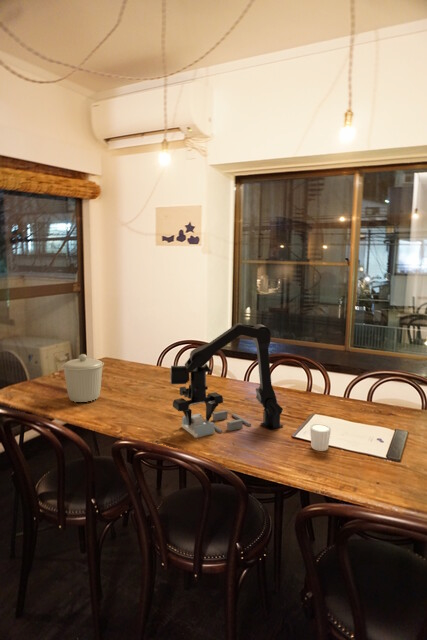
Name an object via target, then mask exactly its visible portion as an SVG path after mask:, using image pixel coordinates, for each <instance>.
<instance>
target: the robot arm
mask: <svg viewBox="0 0 427 640" xmlns="http://www.w3.org/2000/svg"><path fill="white" fill-rule="evenodd" d="M240 336H245V337H249V338H252V341H253V342H254V346H255V347H256V353H257V354H256V355H257V363H258V366H257V367H258V374H259V375H258V376H259V387H258V388H257V387H256V388H255V391H256V396H255V398H256V400H258V402H259V403H260V405H262V407H263V418H262V419H263V421H262V422H259V424H260V425H261V426H262V427H264V428H266V429H268V430H276V429H279V428H283V427H284V425H283V424H281V415H282V413H283V410H284V409H283V407H282V406H281V405H280V404H279V403H278V400H277V396H276V393H275V390H274V388H273V385H272V375H271V374H272V373H271V366H270V365H271V364H270V362H271V361H270V353H269V352H270V351H269V348H270V345H271V338H272V337H271V336H272V331H271V329H270V328H269V327H267V326H265V325H263V324H261V323H257V324H255V325H253V324H246V323H245V324H243V323H242V322H241V323H240V322H236V323H235V324H234V325H233V326H232V327H230V328H229V329H227V330H226V331H224V332H223V333H222V334H220V335H218V336H217V337H216V338H214V339H213V340H211V341H210V342H208V343H206V344H203V345H200V346H198V347H195V348H193V349H192V350H191V351H190V353H189V357H188V359H187V361H186V362H185V363H184V365H170V373H169V375H170V377H169V379H170V385H172V386H173V385H175V386H176V385H187V383H189V382H190V384H188V388H186V386H179V396H184V398H183V397H182V398H177V399H174V400H172V407H173V408H174V409H175V410H177V411H178V412H183V414H184V416H185V417H186V420H187V423H188V425H189V426H190V425H191V415H192V413H193V411H192V409H191V408H190V406H194V405H200V404H205V419H206V421H207V422H208V421H210V420H211V417H212V416H213V413H214V412H215V410H216V409H217V407H219V405H220V404H224V397H223V395H222V394H220V393H218V392H217V391H216V392H209V393H207V390H208V389H209V388H208V387H209V386H207V373H211V372H212V369H211V368H210V366H208V364H207V363H209V361H210V360H211V359H212V357H214V355H215V354H216V353H217V352H219V351H220V350H222V349H224V348H225V347H226V346H227V345H229V344H231V343H232V342H233V341H235V340H236V339H237V338H239V337H240ZM185 398H187V399H189V400H186V399H185Z"/></svg>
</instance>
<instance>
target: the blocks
mask: <svg viewBox="0 0 427 640" xmlns="http://www.w3.org/2000/svg"><path fill="white" fill-rule="evenodd" d="M231 417H233V418H234V419H235V420H229V421H226V422H227V423H226V425H227V426H226V430H227V431H228V432H231V431H235V430H238V429H243V425H244V424H245V425H246V426H248V427H252V423H251V422H250V421H248V420H246V419H244V418H243V417H241V416H239V415H238V414H235V413H233V412H232V413H231ZM226 419H228V410H226V409H225V410H221V411H214V412H213V413H212V421H214V422H217V421H221V420H226ZM204 420H206V418H204ZM204 423H206V424H207V423H211V421H210V420H209V421H208V422H207V421H206V422H204ZM214 430H215V432H216V431H217V432H218V433H220V434H222V433H223V429H222V428H221V427H219V426H218V425H217V424H214Z"/></svg>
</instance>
